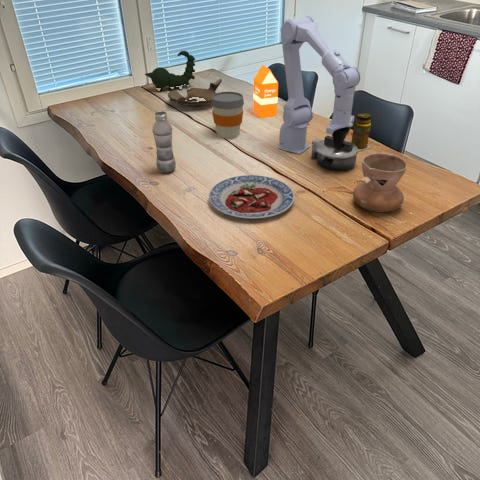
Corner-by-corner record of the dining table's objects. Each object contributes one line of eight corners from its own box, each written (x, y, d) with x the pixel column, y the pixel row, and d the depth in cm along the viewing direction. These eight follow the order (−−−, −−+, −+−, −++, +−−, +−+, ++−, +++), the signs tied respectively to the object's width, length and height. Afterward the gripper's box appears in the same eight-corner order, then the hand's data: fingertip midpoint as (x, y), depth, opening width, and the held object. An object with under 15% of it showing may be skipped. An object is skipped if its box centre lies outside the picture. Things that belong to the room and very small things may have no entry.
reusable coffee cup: (208, 138, 178) (206, 100, 169) (218, 126, 188) (216, 90, 179) (239, 141, 175) (238, 103, 167) (247, 129, 185) (247, 92, 176)
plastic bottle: (161, 176, 152) (154, 118, 140) (154, 168, 156) (147, 111, 145) (179, 172, 154) (174, 115, 142) (172, 164, 159) (166, 108, 147)
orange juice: (268, 110, 204) (270, 63, 192) (277, 116, 197) (279, 69, 186) (252, 112, 202) (253, 65, 190) (260, 118, 195) (261, 70, 183)
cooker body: (299, 165, 158) (300, 152, 155) (322, 148, 170) (324, 135, 167) (342, 178, 150) (344, 164, 147) (363, 158, 162) (366, 145, 159)
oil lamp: (160, 101, 214) (158, 85, 210) (217, 92, 226) (217, 76, 221) (178, 116, 198) (176, 99, 194) (239, 105, 210) (238, 88, 205)
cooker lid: (301, 148, 157) (302, 138, 154) (325, 137, 165) (326, 127, 163) (342, 163, 147) (343, 152, 145) (365, 150, 155) (366, 139, 153)
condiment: (372, 147, 171) (377, 116, 164) (355, 152, 167) (360, 120, 160) (358, 140, 176) (362, 110, 169) (341, 145, 172) (346, 114, 165)
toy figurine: (190, 87, 238) (143, 88, 228) (191, 48, 227) (141, 48, 218) (196, 92, 230) (147, 94, 221) (197, 52, 220) (146, 53, 211)
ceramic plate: (290, 228, 127) (291, 219, 125) (200, 219, 130) (199, 210, 129) (297, 184, 147) (297, 176, 146) (219, 178, 151) (219, 170, 149)
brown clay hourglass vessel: (377, 224, 128) (387, 179, 119) (338, 203, 137) (344, 160, 129) (416, 204, 137) (427, 160, 128) (376, 186, 146) (384, 144, 138)
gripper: (342, 117, 138) (337, 158, 146) (364, 104, 147) (358, 144, 155) (322, 112, 141) (318, 152, 149) (345, 100, 151) (340, 139, 158)
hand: (337, 148), depth 152 cm, fingers closed
